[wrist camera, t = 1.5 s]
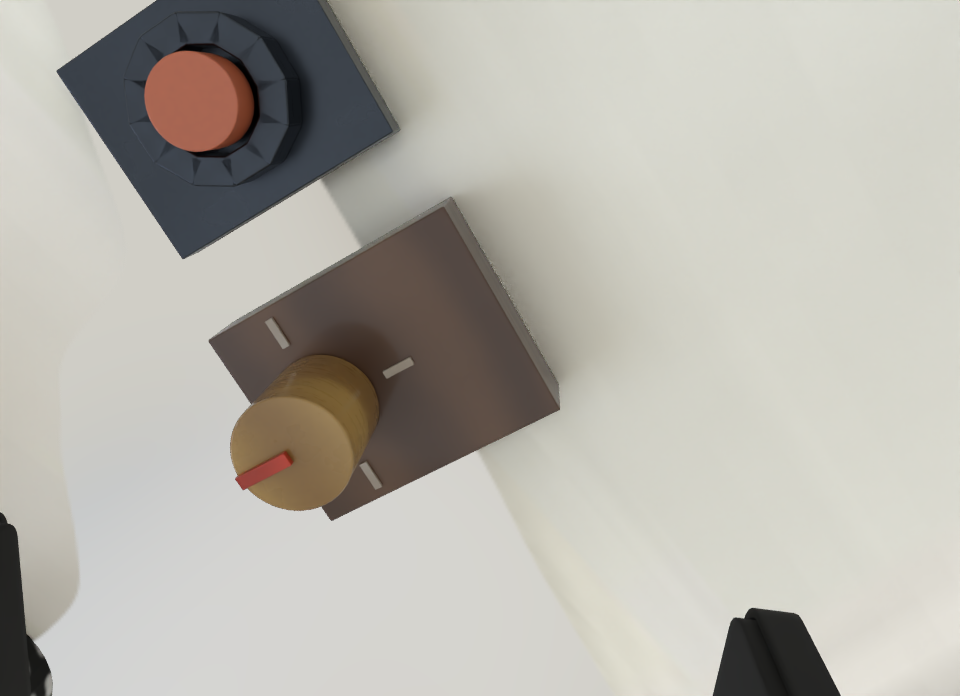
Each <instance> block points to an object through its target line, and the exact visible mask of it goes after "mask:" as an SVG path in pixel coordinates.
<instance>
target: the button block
mask: <svg viewBox="0 0 960 696" xmlns="http://www.w3.org/2000/svg"><path fill="white" fill-rule="evenodd" d="M178 51H196V52H204V53H212V54H217V55H219V56H222V57H224V58H226V59H228V60H229V61H231V62H232V63H234V64H235V65H236V66H237V67H238V68H239V69H240V70H241V71H242V73H243V74H244V75H245V77H246V78H247V80H248V82H249V84H250V87H251V89H252V93H253V98H254V115H253V119H252V122H251V125H250V127H249V129H248V130H247V132H246V133H245V135H244V136H243V137H242V138H241V139H240V140H239V141H237V142H236V143H234V144H232V145H230V146H228V147H225V148H220V149H214V150H209V151H203V152H192V151H187V150H183V149H180V148H178V147H176V146H174V145H172V144H171V143H169V142H168V141H167V140H165V139H164V138H163V137H162V136H161V135H160V134H159V133H158V132H157V130H156V129H155V127H154V126H153V124H152V122H151V121H150V118H149V116H148V113H147V110H146V105H145V96H144V95H145V86H146V81H147V78H148V76H149V74H150V72H151V70H152V69H153V67H154V66H155V65H156V64H157V63H158V61H160V60H161V59H162V58H164V57H165V56H167V55H169V54H171V53H174V52H178ZM57 73H58V75H59V76H60V78H61V79H62V81H63V82H64V84H65V85H66V87H67V88H68V90H69V91H70V93H71V94H72V96H73V97H74V99H75V100H76V101H77V103H78V104H79V106H80V107H81V109H82V110H83V112H84V113H85V115H86V116H87V118H88V119H89V121H90V122H91V124H92V125H93V127H94V128H95V130H96V131H97V132H98V134H99V136H100V137H101V139H102V140H103V142H104V143H105V144H106V146H107V148H108V149H109V151H110V152H111V153H112V155H113V156H114V158H115V159H116V161H117V162H118V164H119V165H120V167H121V168H122V170H123V171H124V173H125V174H126V176H127V177H128V179H129V180H130V181H131V183H132V185H133V186H134V188H135V189H136V191H137V192H138V194H139V195H140V196H141V198H142V200H143V201H144V202H145V204H146V205H147V207H148V208H149V210H150V211H151V213H152V214H153V216H154V217H155V219H156V220H157V222H158V223H159V225H160V226H161V228H162V229H163V231H164V232H165V234H166V235H167V237H168V238H169V240H170V241H171V243H172V244H173V246H174V247H175V249H176V250H177V251H178V253H179V255H180V256H181V257H182V259H185V258H187V257H189V256H191V255H193V254H195V253H198V252H200V251H201V250H203V249H205V248H206V247H208V246H209V245H211V244H213V243H214V242H216V241H218V240H219V239H221V238H223V237H224V236H226V235H228V234H229V233H231V232H233V231H234V230H236V229H238V228H239V227H241V226H243V225H244V224H246V223H248V222H249V221H251V220H253V219H254V218H256V217H258V216H259V215H261V214H262V213H264V212H266V211H267V210H269V209H271V208H272V207H274V206H276V205H277V204H279V203H281V202H282V201H284V200H286V199H287V198H289V197H291V196H292V195H294V194H296V193H297V192H299V191H301V190H302V189H304V188H305V187H307V186H309V185H310V184H312V183H314V182H315V181H317V180H319V179H320V178H322V177H324V176H325V175H327V174H329V173H330V172H332V171H334V170H335V169H337V168H339V167H340V166H342V165H344V164H345V163H347V162H348V161H350V160H352V159H353V158H355V157H357V156H358V155H360V154H362V153H363V152H365V151H367V150H368V149H370V148H372V147H373V146H375V145H377V144H378V143H380V142H382V141H383V140H385V139H387V138H388V137H390V136H391V135H393V134H395V133H396V132H398V131H400V128H399V126H398V125H397V123H396V121H395V119H394V118H393V116H392V114H391V112H390V111H389V109H388V107H387V105H386V104H385V102H384V100H383V98H382V97H381V95H380V93H379V91H378V90H377V88H376V86H375V84H374V83H373V81H372V79H371V77H370V76H369V74H368V72H367V70H366V69H365V67H364V65H363V63H362V62H361V60H360V58H359V57H358V55H357V53H356V51H355V50H354V48H353V46H352V44H351V43H350V41H349V39H348V37H347V36H346V34H345V32H344V30H343V29H342V27H341V25H340V23H339V22H338V20H337V18H336V16H335V15H334V13H333V11H332V9H331V8H330V6H329V4H328V2H327V1H326V0H156V1H155V2H153V3H152V4H151V5H149V6H148V7H146V8H145V9H144V10H142V11H141V12H139V13H138V14H136V15H135V16H134V17H132V18H131V19H129V20H128V21H126V22H125V23H124V24H122V25H121V26H119V27H118V28H117V29H115V30H114V31H113V32H111V33H109V34H108V35H107V36H105V37H104V38H102V39H101V40H100V41H98V42H97V43H95V44H94V45H92V46H91V47H90V48H88V49H87V50H85V51H84V52H83V53H81V54H80V55H78V56H77V57H75V58H74V59H72V60H71V61H70V62H68V63H67V64H65V65H64V66H62V67H61V68H60V69H58V70H57Z"/></svg>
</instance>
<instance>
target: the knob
mask: <svg viewBox="0 0 960 696" xmlns="http://www.w3.org/2000/svg"><path fill="white" fill-rule="evenodd" d="M378 418H379V402H378V398H377V394H376V392H375V389H374V387H373V385H372V384H371V382H370V381H369V379H368V378H367V377H366V376H365V374H364V373H363V372H362V371H361V370H359V369H358V368H357V367H356V366H354V365H353V364H351V363H349V362H347V361H345V360H343V359H340V358H338V357H334V356H329V355H312V356H307V357H304V358H301V359H299V360H296V361H295V362H293V363H291V364H290V365H289V366H288V367H286V368H285V369H284V370H283V371H282V372H281V373H280V374H279V376H278V377H277V378H276V379H275V380H274V381H273V382H272V383H271V384H270V385H269V386H268V387H267V388H266V389H265V390H264V392H263V393H262V394H261V395H260V396H259V397H258V398H257V399H256V400H255V401H254V402H253V403H252V404H251V405H250V406H249V408H248V409H247V410H246V411H245V412H244V413H243V414H242V415H241V417H240V418H239V420H238V421H237V423H236V424H235V427H234V429H233V432H232V436H231V442H230V453H231V459H232V462H233V466H234V468H235V471H236V473H237V475H238V476H237V477H236V479H235V480H236V481H237V482H238V484H239V485H240V486H241V488H242V489H243V490H245V489H247V488H248V489H249V490H250V491H251V492H252V493H253V494H254V495H255V496H257V497H258V498H259V499H261V500H263V501H265V502H266V503H268V504H270V505H272V506H275V507H278V508H282V509H286V510H294V511H304V510H311V509H314V508H318V507H321V506H323V505H326V504H327V503H329V502H331V501H332V500H334V499H335V498H336V497H338V496H339V495H340V493H341V492H342V491H343V490H344V489H345V487H346V486H347V484H348V482H349V480H350V478H351V476H352V474H353V472H354V470H355V468H356V466H357V464H358V462H359V460H360V458H361V456H362V454H363V452H364V450H365V448H366V446H367V444H368V442H369V440H370V438H371V436H372V434H373V432H374V430H375V428H376V426H377V423H378Z"/></svg>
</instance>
